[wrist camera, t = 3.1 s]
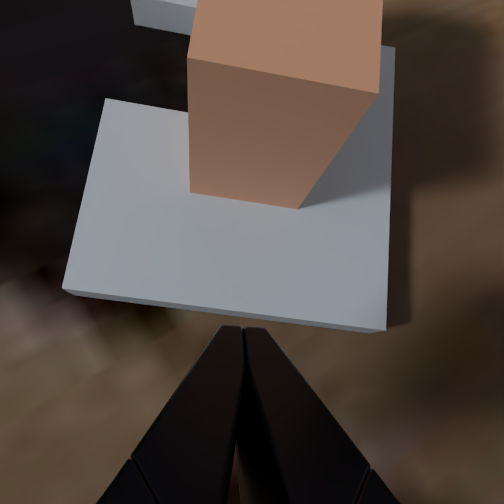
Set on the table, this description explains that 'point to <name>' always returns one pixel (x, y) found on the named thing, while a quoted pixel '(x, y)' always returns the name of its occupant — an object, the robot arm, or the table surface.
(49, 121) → the table surface
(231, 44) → the block
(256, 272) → the trap board
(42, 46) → the table surface
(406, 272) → the table surface
